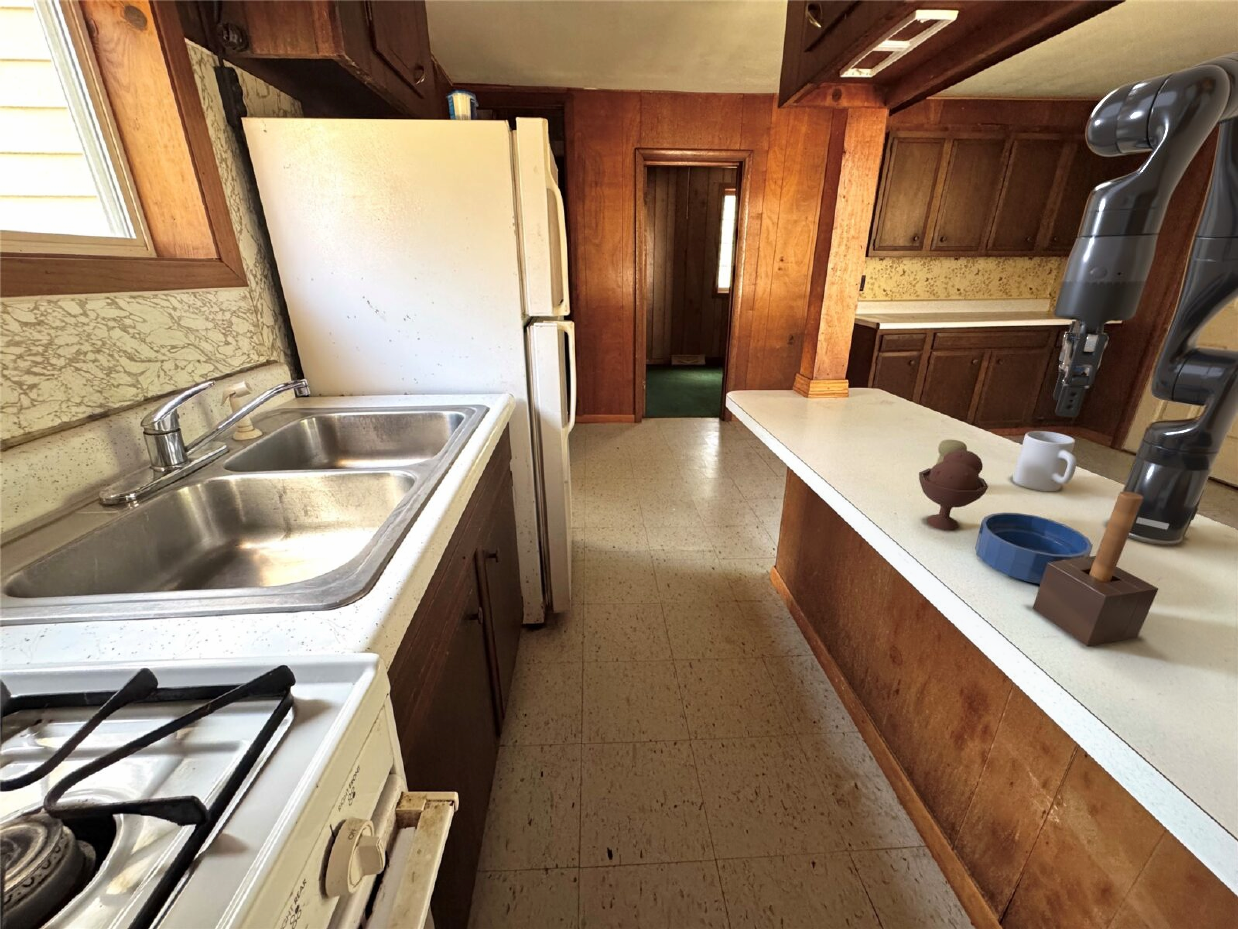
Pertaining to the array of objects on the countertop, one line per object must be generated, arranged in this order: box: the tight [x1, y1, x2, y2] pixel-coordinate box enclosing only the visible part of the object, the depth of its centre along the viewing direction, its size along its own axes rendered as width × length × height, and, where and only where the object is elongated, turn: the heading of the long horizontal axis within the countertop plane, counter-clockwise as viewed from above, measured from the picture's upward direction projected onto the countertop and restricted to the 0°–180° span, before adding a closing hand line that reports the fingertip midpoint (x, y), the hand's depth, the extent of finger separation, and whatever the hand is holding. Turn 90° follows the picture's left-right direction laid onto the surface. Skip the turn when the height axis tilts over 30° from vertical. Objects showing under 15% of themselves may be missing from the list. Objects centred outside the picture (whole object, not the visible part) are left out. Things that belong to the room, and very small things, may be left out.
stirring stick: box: [1089, 490, 1143, 583], centre depth 68 cm, size 2×2×20 cm
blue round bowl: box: [974, 512, 1093, 585], centre depth 84 cm, size 14×14×6 cm
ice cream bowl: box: [918, 449, 989, 532], centre depth 96 cm, size 11×11×15 cm
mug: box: [1012, 430, 1077, 492], centre depth 110 cm, size 12×8×11 cm
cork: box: [935, 439, 968, 465], centre depth 111 cm, size 6×6×11 cm
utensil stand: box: [1032, 555, 1160, 647], centre depth 70 cm, size 8×8×8 cm
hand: (1063, 407), depth 67 cm, fingers open, 8 cm apart
